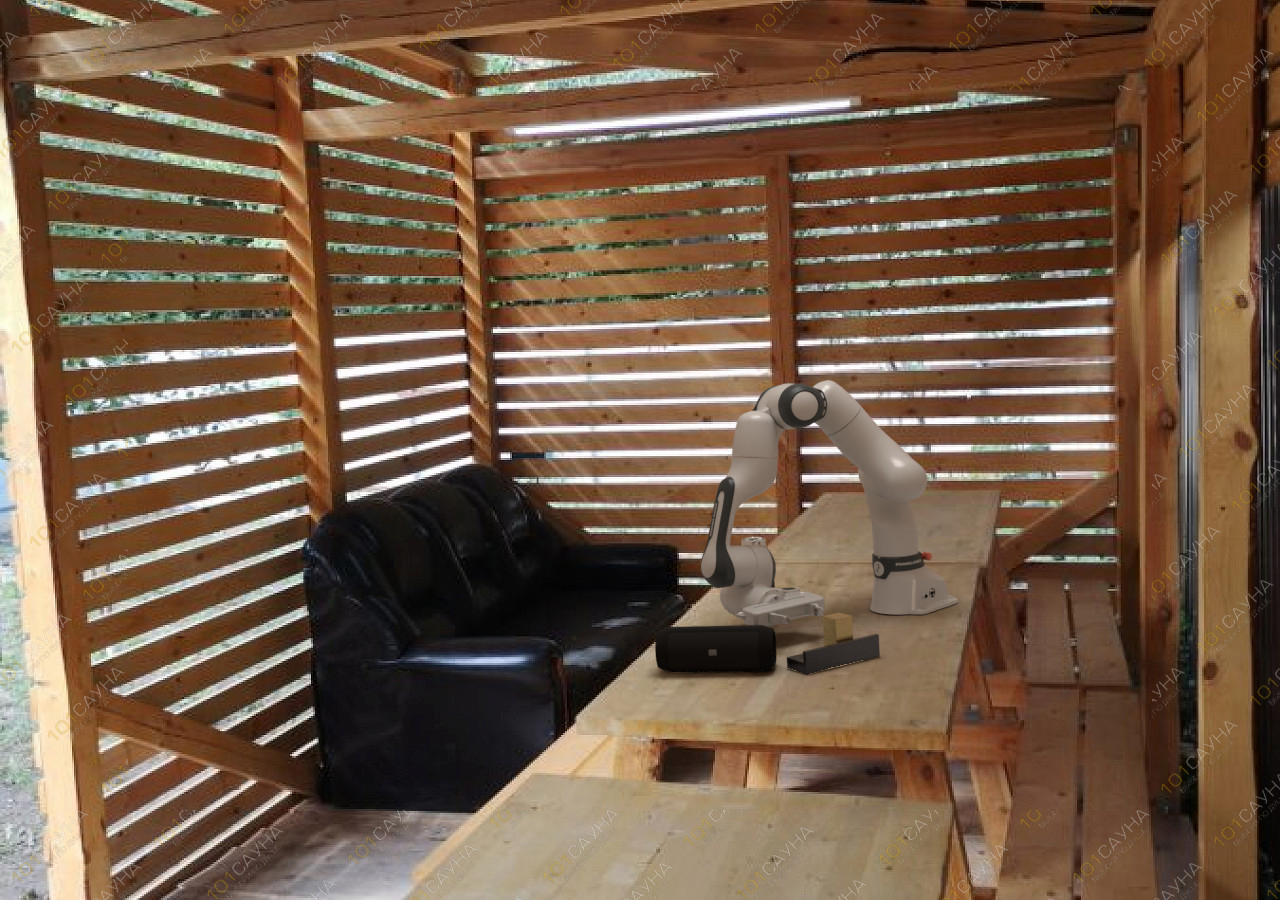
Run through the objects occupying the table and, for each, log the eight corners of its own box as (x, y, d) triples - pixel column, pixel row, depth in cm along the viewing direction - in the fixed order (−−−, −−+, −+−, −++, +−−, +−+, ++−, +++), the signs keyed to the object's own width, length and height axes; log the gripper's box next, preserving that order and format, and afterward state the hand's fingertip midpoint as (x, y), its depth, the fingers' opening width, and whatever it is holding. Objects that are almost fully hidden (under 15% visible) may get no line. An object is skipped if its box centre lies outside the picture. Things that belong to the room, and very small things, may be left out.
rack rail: (787, 668, 292) (785, 646, 291) (859, 650, 302) (858, 629, 301) (806, 675, 286) (805, 652, 285) (879, 656, 296) (878, 634, 295)
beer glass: (752, 597, 363) (749, 542, 361) (739, 593, 369) (735, 539, 367) (774, 592, 366) (771, 538, 364) (760, 588, 372) (757, 535, 370)
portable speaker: (656, 678, 293) (652, 633, 291) (664, 665, 302) (661, 622, 301) (773, 676, 287) (770, 631, 286) (778, 664, 297) (775, 619, 296)
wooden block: (841, 656, 298) (838, 612, 297) (854, 660, 295) (851, 615, 293) (825, 660, 296) (822, 616, 295) (838, 664, 292) (835, 619, 291)
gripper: (731, 601, 312) (766, 611, 300) (801, 585, 322) (838, 594, 310) (733, 628, 313) (768, 638, 301) (803, 611, 323) (840, 621, 311)
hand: (804, 616), depth 305 cm, fingers open, 8 cm apart
